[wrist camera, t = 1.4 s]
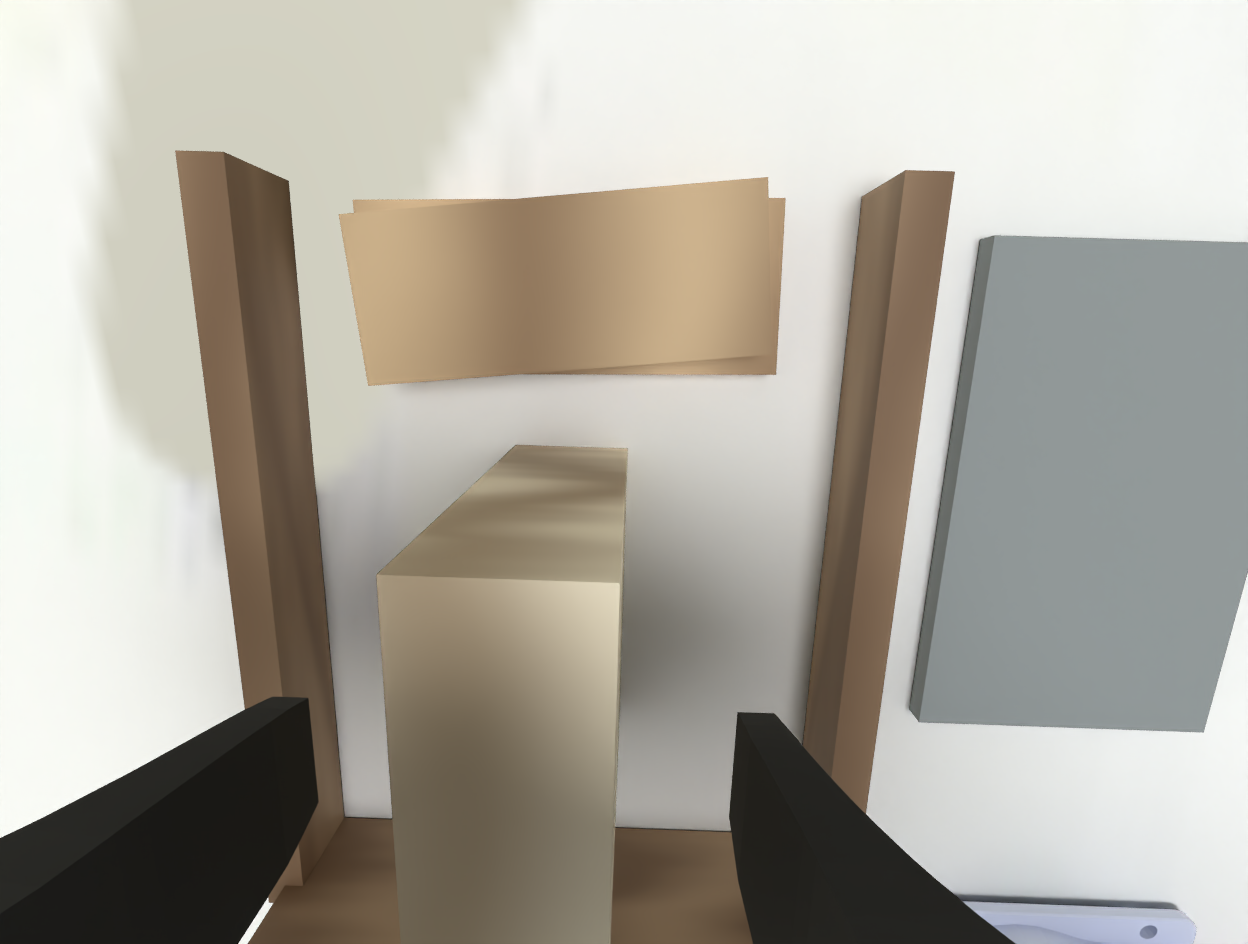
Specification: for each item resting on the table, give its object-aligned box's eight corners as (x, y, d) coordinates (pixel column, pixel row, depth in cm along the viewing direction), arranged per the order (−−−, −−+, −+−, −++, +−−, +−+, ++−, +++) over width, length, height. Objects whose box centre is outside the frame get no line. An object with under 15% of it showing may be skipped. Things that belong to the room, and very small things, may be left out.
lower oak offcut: (770, 212, 15) (785, 198, 14) (762, 371, 16) (775, 374, 15) (381, 213, 16) (352, 199, 14) (393, 370, 16) (368, 374, 15)
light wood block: (627, 448, 16) (619, 582, 7) (619, 712, 18) (605, 1074, 9) (516, 444, 16) (376, 574, 7) (518, 708, 18) (409, 1066, 9)
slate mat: (1310, 248, 15) (1338, 244, 14) (1184, 719, 18) (1203, 732, 17) (980, 239, 15) (994, 235, 14) (909, 709, 18) (919, 722, 17)
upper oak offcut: (754, 192, 14) (767, 177, 12) (758, 352, 15) (772, 354, 13) (367, 225, 14) (338, 214, 13) (392, 380, 15) (368, 385, 14)
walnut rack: (903, 197, 15) (1038, 129, 10) (821, 867, 19) (886, 1052, 14) (248, 179, 15) (57, 103, 10) (315, 848, 19) (206, 1024, 14)
